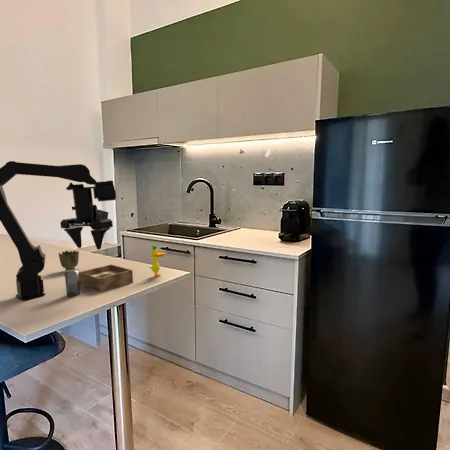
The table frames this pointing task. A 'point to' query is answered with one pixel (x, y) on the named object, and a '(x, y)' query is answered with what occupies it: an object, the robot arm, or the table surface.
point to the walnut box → (105, 277)
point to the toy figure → (155, 255)
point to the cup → (69, 259)
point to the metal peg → (72, 283)
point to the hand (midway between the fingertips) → (89, 248)
